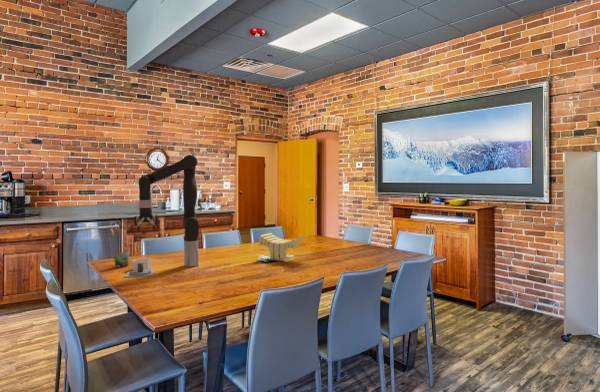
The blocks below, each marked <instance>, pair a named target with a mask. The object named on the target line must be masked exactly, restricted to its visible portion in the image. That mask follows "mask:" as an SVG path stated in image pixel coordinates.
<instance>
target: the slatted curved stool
mask: <svg viewBox="0 0 600 392" xmlns="http://www.w3.org/2000/svg"><path fill="white" fill-rule="evenodd" d="M305 240H306V235H303V236H300V237H296V238H293V239H291V240H290V239H283V238H281V237H279V236H276V235H275V234H273V233H272V232H268V233H263V234H261V235H260V236H259V238H258V246H265V247H267V248H268V251H269V259H270V260H271V261H278V262H285V263H287V262H290V261H292V260H295V259H296V257H295V255H292V254H291V255H290V254H287V251H288V249H293V250H297V249H298V248H299V247H298V246H299V244H300V243H301V242H302V241H305Z"/></svg>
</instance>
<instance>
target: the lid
mask: <svg viewBox="0 0 600 392" xmlns="http://www.w3.org/2000/svg"><path fill="white" fill-rule="evenodd" d="M151 270H152V269H150V270H149V269H143V263H138V270H134V271H133V270H131V272H130V271H129V272H130V275H132V276H141V277H143V276H142V275H147V274H150V273H151Z"/></svg>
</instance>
